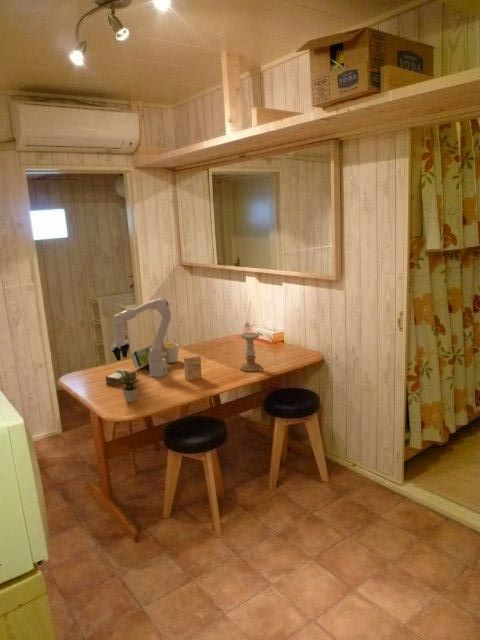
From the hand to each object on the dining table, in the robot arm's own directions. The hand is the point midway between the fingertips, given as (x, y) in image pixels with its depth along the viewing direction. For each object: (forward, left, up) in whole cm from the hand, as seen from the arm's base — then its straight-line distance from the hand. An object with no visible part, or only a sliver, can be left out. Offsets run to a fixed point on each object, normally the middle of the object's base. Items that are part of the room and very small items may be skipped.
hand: (121, 358), depth 267 cm
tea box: (+3, -20, -6) cm, 21 cm away
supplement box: (-40, -11, -11) cm, 43 cm away
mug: (-10, -33, -10) cm, 36 cm away
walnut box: (-4, +6, -10) cm, 13 cm away
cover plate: (-4, +7, -7) cm, 10 cm away
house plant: (-25, +27, -11) cm, 38 cm away
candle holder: (-63, -37, -11) cm, 74 cm away
